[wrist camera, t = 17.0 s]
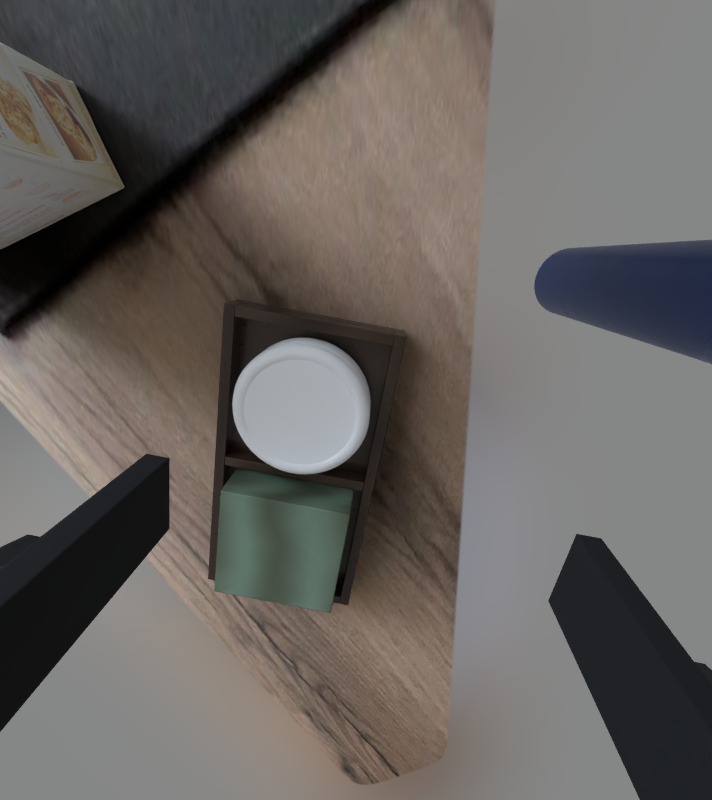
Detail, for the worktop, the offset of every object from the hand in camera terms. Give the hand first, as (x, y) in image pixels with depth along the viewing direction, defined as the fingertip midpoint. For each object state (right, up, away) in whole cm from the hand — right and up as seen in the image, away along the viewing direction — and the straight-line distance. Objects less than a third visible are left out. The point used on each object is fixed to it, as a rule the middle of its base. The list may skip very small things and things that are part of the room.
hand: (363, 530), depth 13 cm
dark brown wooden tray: (-5, -1, +22) cm, 22 cm away
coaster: (-4, +4, +19) cm, 20 cm away
